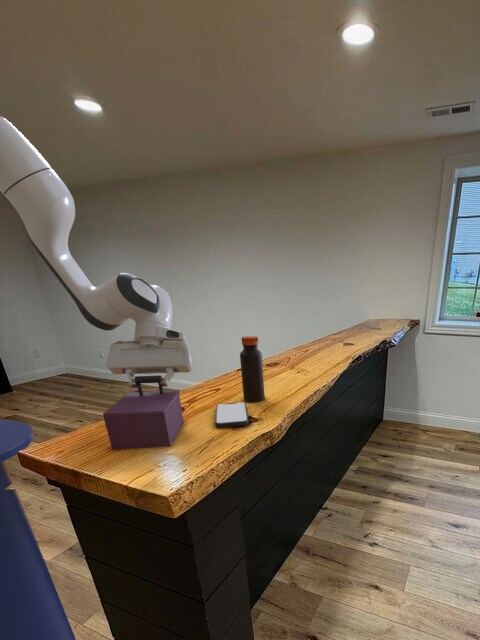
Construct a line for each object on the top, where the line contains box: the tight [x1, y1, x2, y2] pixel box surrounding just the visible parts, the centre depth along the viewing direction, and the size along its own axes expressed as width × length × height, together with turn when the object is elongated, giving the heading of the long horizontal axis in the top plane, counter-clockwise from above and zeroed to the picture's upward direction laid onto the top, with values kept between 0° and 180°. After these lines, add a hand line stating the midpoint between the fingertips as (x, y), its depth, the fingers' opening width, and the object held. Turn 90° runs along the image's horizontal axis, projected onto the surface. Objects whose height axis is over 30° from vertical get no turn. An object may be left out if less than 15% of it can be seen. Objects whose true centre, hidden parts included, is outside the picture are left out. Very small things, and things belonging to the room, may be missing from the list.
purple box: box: [103, 394, 185, 450], centre depth 85 cm, size 16×13×8 cm
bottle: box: [239, 335, 266, 403], centre depth 110 cm, size 7×7×20 cm
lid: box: [102, 375, 181, 418], centre depth 83 cm, size 16×13×6 cm
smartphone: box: [214, 402, 250, 429], centre depth 99 cm, size 9×2×16 cm
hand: (149, 386), depth 88 cm, fingers closed on lid, 6 cm apart
